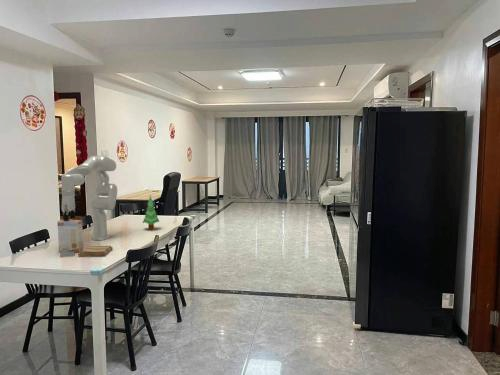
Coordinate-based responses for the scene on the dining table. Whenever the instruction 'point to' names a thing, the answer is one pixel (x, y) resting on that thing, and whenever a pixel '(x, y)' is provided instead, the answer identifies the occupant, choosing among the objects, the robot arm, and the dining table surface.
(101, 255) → the plinth
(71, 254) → the bracket
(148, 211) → the decorative tree
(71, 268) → the dining table surface
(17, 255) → the dining table surface
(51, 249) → the dining table surface
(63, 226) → the cracker box
